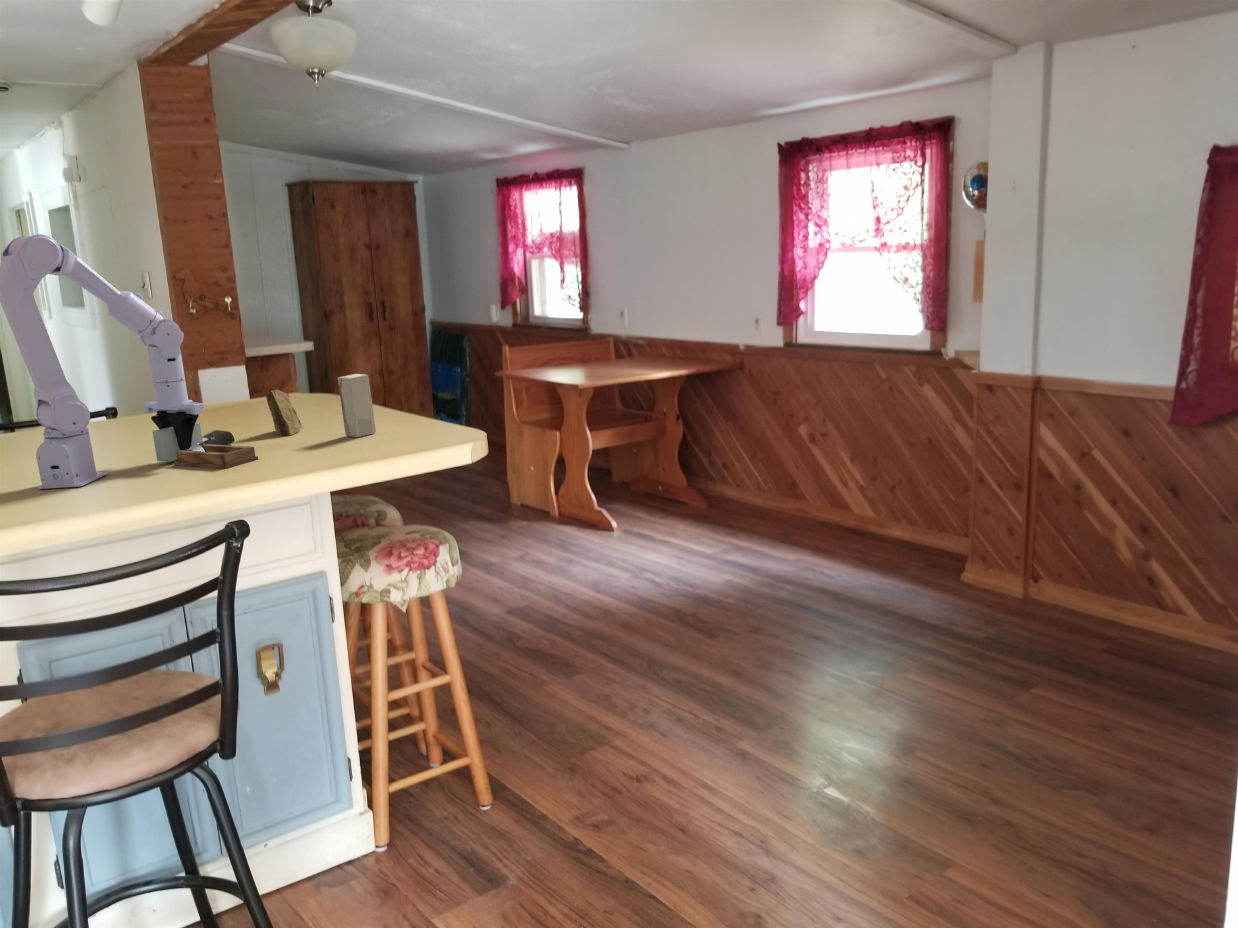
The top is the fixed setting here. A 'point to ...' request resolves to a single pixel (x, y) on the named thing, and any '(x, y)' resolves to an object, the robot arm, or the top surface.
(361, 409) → the box
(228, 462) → the floor track
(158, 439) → the pale teal block
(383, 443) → the top surface
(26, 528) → the top surface
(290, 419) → the rock
